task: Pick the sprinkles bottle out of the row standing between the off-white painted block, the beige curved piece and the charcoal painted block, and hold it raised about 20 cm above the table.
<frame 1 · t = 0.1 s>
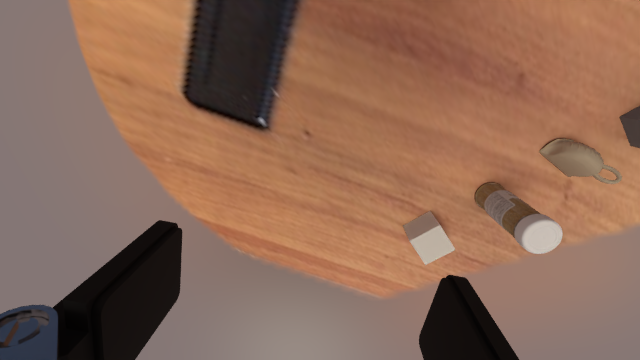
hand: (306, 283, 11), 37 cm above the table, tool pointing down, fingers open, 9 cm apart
off-white block: (423, 229, 51), on the table
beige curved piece: (565, 157, 46), on the table
sprinkles bottle: (487, 194, 48), on the table
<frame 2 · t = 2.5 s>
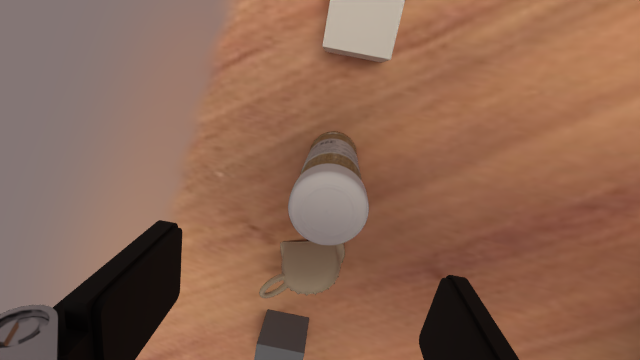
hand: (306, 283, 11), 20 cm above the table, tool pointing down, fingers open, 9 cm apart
off-white block: (360, 25, 26), on the table
charcoal block: (285, 329, 37), on the table
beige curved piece: (308, 252, 33), on the table
sprinkles bottle: (333, 153, 30), on the table
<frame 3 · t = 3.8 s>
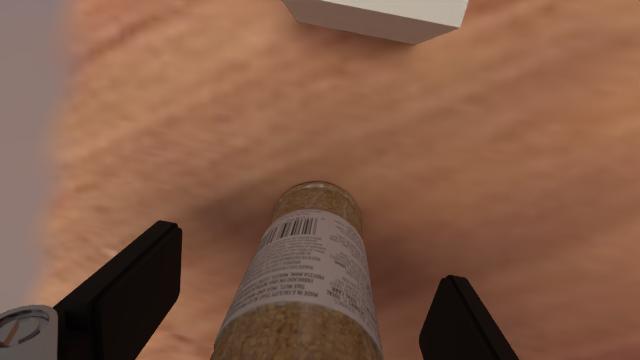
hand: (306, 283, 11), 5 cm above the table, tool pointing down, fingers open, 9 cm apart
sprinkles bottle: (318, 218, 16), on the table
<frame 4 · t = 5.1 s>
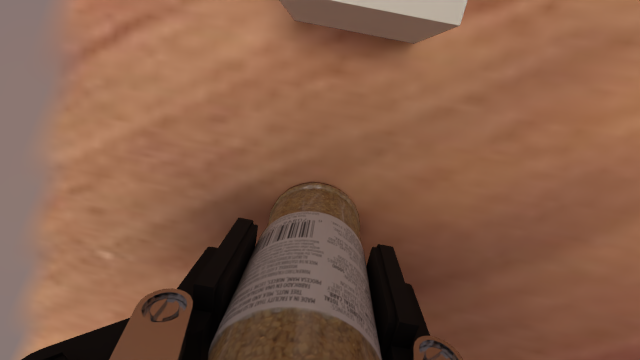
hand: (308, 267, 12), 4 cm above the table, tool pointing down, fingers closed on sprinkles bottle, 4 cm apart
sprinkles bottle: (315, 219, 16), on the table, touching gripper
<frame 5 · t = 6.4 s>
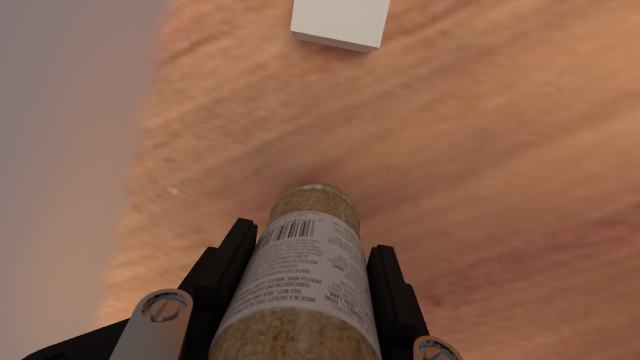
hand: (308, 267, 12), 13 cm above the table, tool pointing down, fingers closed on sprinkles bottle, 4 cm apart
off-white block: (340, 7, 21), on the table
sprinkles bottle: (316, 219, 16), point 9 cm above the table, touching gripper
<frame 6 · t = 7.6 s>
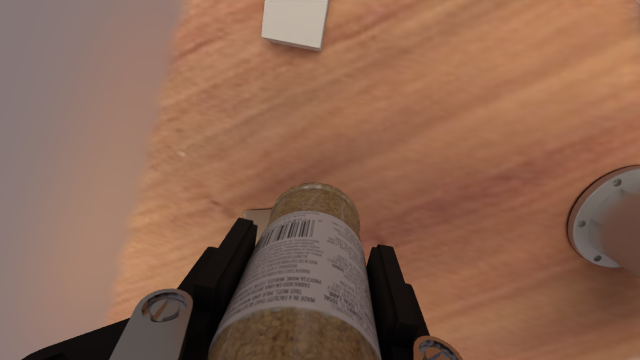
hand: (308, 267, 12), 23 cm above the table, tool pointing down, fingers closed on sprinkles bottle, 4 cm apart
off-white block: (300, 19, 29), on the table
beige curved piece: (268, 221, 37), on the table
sprinkles bottle: (315, 219, 16), point 19 cm above the table, touching gripper
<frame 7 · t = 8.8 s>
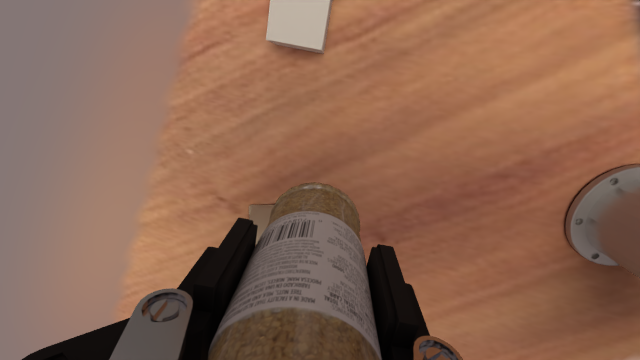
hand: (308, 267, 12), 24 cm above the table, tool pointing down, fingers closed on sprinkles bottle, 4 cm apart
off-white block: (303, 22, 31), on the table
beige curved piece: (273, 216, 38), on the table
sprinkles bottle: (316, 219, 16), point 20 cm above the table, touching gripper
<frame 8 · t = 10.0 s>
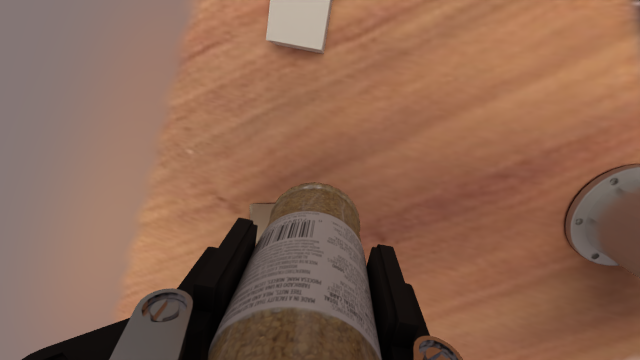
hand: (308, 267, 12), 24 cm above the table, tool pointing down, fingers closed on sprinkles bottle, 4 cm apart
off-white block: (303, 22, 31), on the table
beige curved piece: (274, 215, 38), on the table
sprinkles bottle: (316, 219, 16), point 20 cm above the table, touching gripper
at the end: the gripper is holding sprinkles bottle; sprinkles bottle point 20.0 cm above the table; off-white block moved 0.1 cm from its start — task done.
